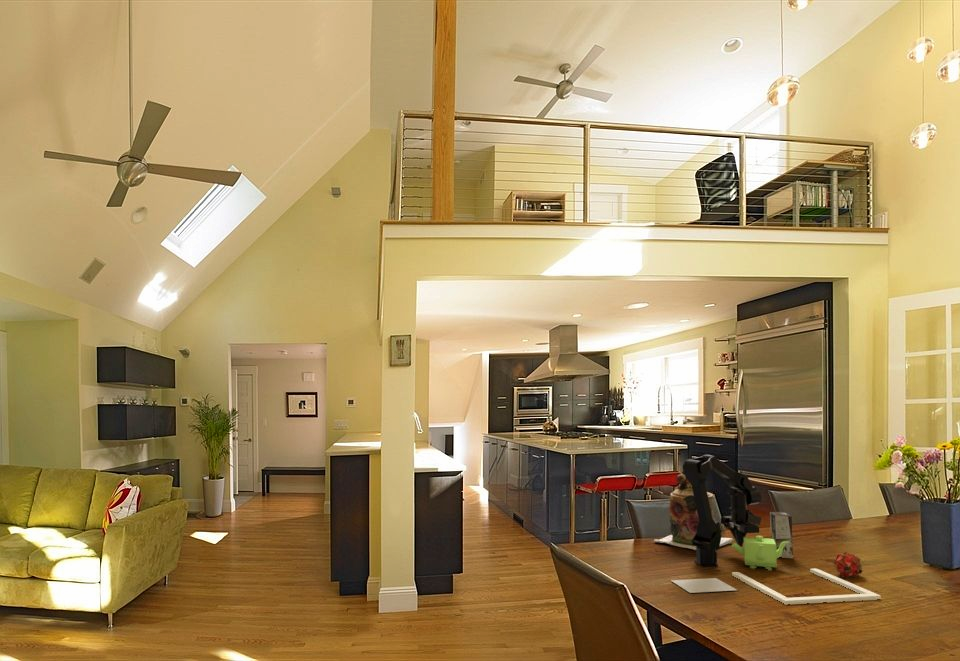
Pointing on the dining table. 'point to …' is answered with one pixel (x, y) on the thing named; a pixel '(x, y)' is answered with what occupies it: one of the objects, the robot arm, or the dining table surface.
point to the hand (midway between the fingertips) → (740, 546)
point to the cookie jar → (685, 516)
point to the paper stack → (703, 585)
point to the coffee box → (782, 532)
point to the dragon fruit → (848, 564)
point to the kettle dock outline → (814, 599)
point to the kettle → (760, 551)
